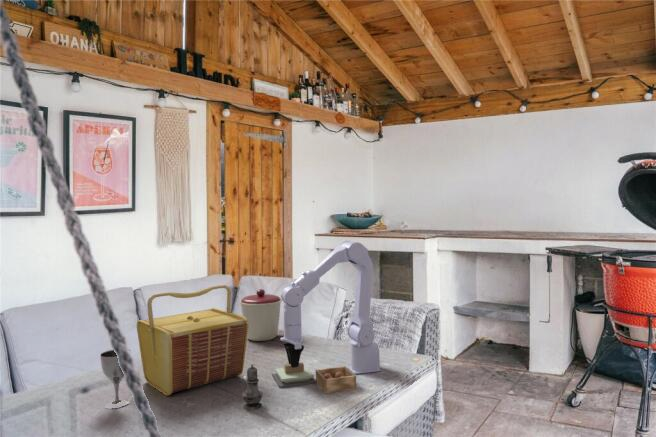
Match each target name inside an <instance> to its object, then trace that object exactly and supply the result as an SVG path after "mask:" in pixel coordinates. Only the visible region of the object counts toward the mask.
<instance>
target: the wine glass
mask: <svg viewBox="0 0 656 437" xmlns="http://www.w3.org/2000/svg"><path fill="white" fill-rule="evenodd" d="M128 350H129V351H130V352H131V349H128ZM100 365H101V370H102V373H103V375H104V376H105V377H106V378H107V379H108V380H109V381H111V383H112V384H113V387H114V388H113V389H114V393H115V394H114V395H115V397H114V398H115V399H114V400H115V401H113V400H112V401H113V402H112V404H117V403H120V402H121V401H122V400H119V399H120V398H119V388H120V384H121V381H122V379H124V377H125V376H124V374H123V372H122V370H121V368H120V366H119V363H118V358H117V355H116V353H115V352H114V349H109V350H106V351H103V352H102V353H100Z"/></svg>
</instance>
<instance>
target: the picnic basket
mask: <svg viewBox="0 0 656 437" xmlns="http://www.w3.org/2000/svg"><path fill="white" fill-rule="evenodd" d="M217 289H226V292H227V294H226V295H227V297H226V310H223V309H220V308H216V307H212V308H210V309H209V308H208V309H204V310H197V311H191V312H185V313H180V314H173V315H169V316H168V315H167V316H162V317H156V318H154V314H153V306H152V305H153V304H152V303H153V300H154V299H156V298H159V297H165V296H166V297H168V296H169V297H173V298H176V299H177V298H178V299H179V298H180V299H188V298H195V297H196V298H197V297H201V296H202V295H206V294H208V293H210V292H211V291H213V290H217ZM231 302H232V290H231V287H230V286H228V285H226V284H221V285H215V286H210V287H207V288H203V289H201V290H199V291H198V290H197V291H193V292H186V293H185V292H184V293H183V292H170V291H169V292H159V293H154V294H152V295H151V296H150V297H149V298H148V299H147V303H146V306H147V315H148V319H139V320H137V322H136V333H137V339H138V346H139V352H140V357H141V365H142V373H143V376H144V379H145V381H146V383H147V384H148V385H149V386H151V387H153V389H155V388H156V389H155V390H157V391H158V392H160V393H161V392H162V393H161V394H163V395H164V396H170V395H172V394H173V393H177V392H182V391H185V390H189V389H192V388H196V387H200V386H203V385H207V384H210V383H214V382H217V381H221V380H225V379H228V378H229V379H230V378H232V377H233V378H234V377H240V376H242V374H243V373H244V372H243V371H244V366H245V357H246V350H247V342H248V338H247V335H248V320H247V319H246V318H245V317H244V316H243V315H240V314H237V313H232V312H231Z"/></svg>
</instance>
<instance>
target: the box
mask: <svg viewBox="0 0 656 437" xmlns="http://www.w3.org/2000/svg"><path fill="white" fill-rule="evenodd" d="M315 380H316V381H317V383H316V385H318V387H319V388H320V389H321V390H322V392H323V393H324V394H330V393H337V392H345V391H352V390H357V375H356V374H354V373H353V372H352V371H351V370H349V369H348V368H347V366H345V365H344V366H336V367H326V368H321V369H319V368H318V369H315Z"/></svg>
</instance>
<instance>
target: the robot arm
mask: <svg viewBox="0 0 656 437" xmlns="http://www.w3.org/2000/svg"><path fill="white" fill-rule="evenodd" d="M368 250H369V249H368V248H367V247H366V246H365V245H363V243H361V242H359V241H358V242H354V241H350V240H345V241H342V242H341V243H340V244H339V245H337V246H336V247H334V249H333V250H332V251H331V252H330V253H329V254H328V255H327V256H326V257H325V258H323V260H322V261H321V262H320V263H319V264H317V266H316V267H315V268H314V269H313V270H306V271H302V272H301V275H300V277H298V278H297V279H296V280H295V281H292V282H291V283H290V285H289V286H286V287H285V288H283V289H282V292H281V294H280V298H281V299H282V301H283V337H280V341H281V342H282V345H283V347H284V349H285V353H286V357H287V361H288V364H291V367H292V368H293V367H298V365H299V363H300V359H301V355H302V352H303V351H304V349H305V346H304V345H303V344H302V342H303V336H302V335H303V334H302V332H303V331H302V329H303V328H302V306H301V305H302V303H303V302H304V298H305V296H307V295H308V294H309V293H310V292H312V290H313V289H314V288H316V287H317V286H318V285H319V284H320V280H321V277H323V276H324V275H325V274H326V273H328V272H329V271H330V270H331V269H333V268H334V267H335V266H336V265H338V264H340V263H350V264H351V265H352V266H354V268H355V269H356V276H355V278H356V279H355V294H354V296H355V297H354V308H353V309H354V310H353V315H352V316H351V318H350V323H349V326H347V335H348V337H349V339H350V365H346V367H347V368H348V369H349V370H350V371H351V372H352V373H353V374H354V375H359V374H360V375H361V374H367V373H374V372H381V370H382V369H381V367H380V364H381V363H380V362H381V361H380V359H381V358H380V348H379V345H378V343H377V342H375V341H374V340H375V334H376V333H375V330H374V327H373V322H372V319H371V316H370V313H371V312H370V311H371V300H372V298H371V297H372V283H373V270H374V269H373V268H374V267H373V262H372V260H371V258H370V254H369V253H368V252H369V251H368Z"/></svg>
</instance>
